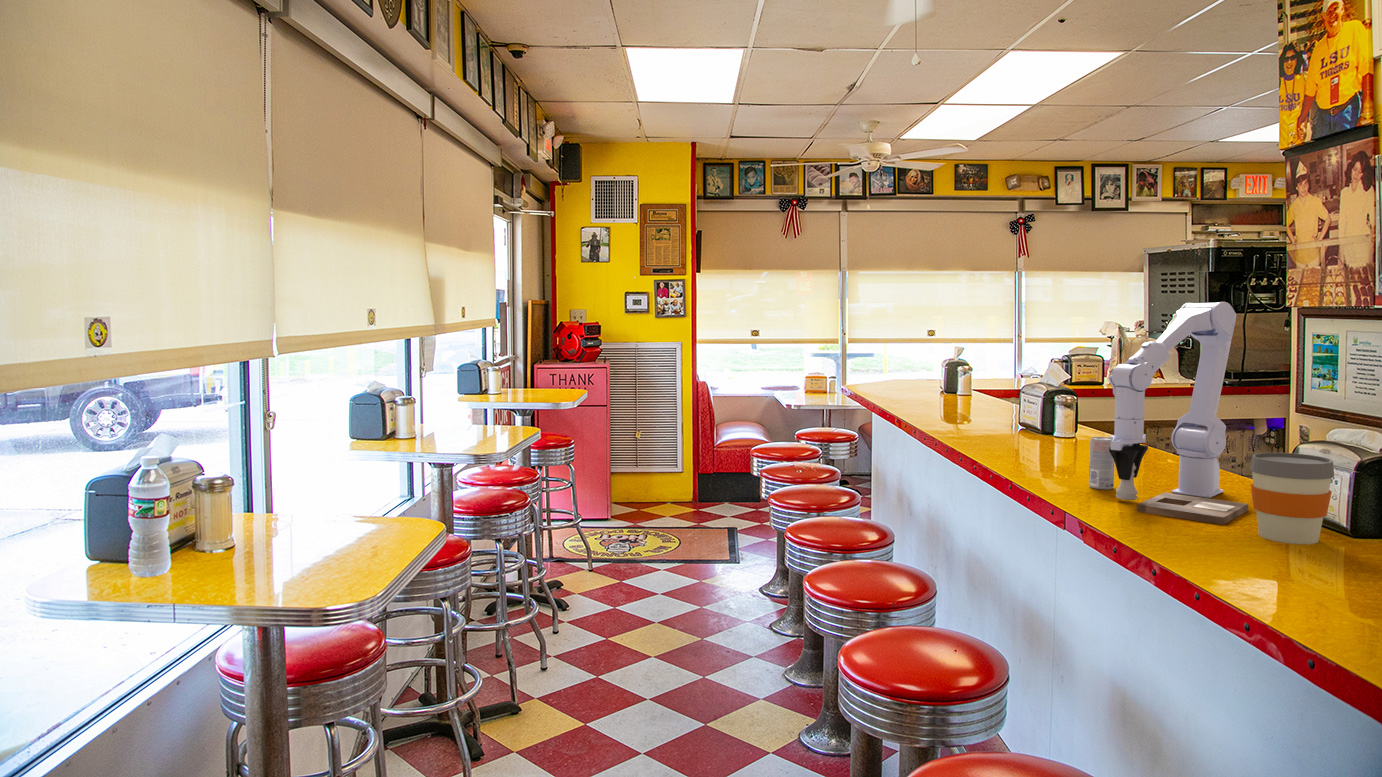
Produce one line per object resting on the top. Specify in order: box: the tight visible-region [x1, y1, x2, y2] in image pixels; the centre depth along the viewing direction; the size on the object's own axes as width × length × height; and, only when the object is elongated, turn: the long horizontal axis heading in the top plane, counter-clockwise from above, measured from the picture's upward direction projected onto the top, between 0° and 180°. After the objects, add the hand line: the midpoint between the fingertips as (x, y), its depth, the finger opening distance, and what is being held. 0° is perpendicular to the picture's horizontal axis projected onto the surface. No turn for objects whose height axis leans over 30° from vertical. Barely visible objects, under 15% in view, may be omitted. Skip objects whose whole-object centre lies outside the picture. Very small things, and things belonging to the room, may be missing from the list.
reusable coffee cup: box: [1249, 452, 1335, 545], centre depth 150 cm, size 13×13×15 cm
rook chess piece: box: [1115, 463, 1138, 501], centre depth 180 cm, size 4×4×8 cm
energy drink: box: [1088, 436, 1115, 491], centre depth 195 cm, size 5×5×12 cm
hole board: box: [1136, 492, 1249, 526], centre depth 171 cm, size 16×16×2 cm
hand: (1127, 478), depth 180 cm, fingers closed on rook chess piece, 3 cm apart
